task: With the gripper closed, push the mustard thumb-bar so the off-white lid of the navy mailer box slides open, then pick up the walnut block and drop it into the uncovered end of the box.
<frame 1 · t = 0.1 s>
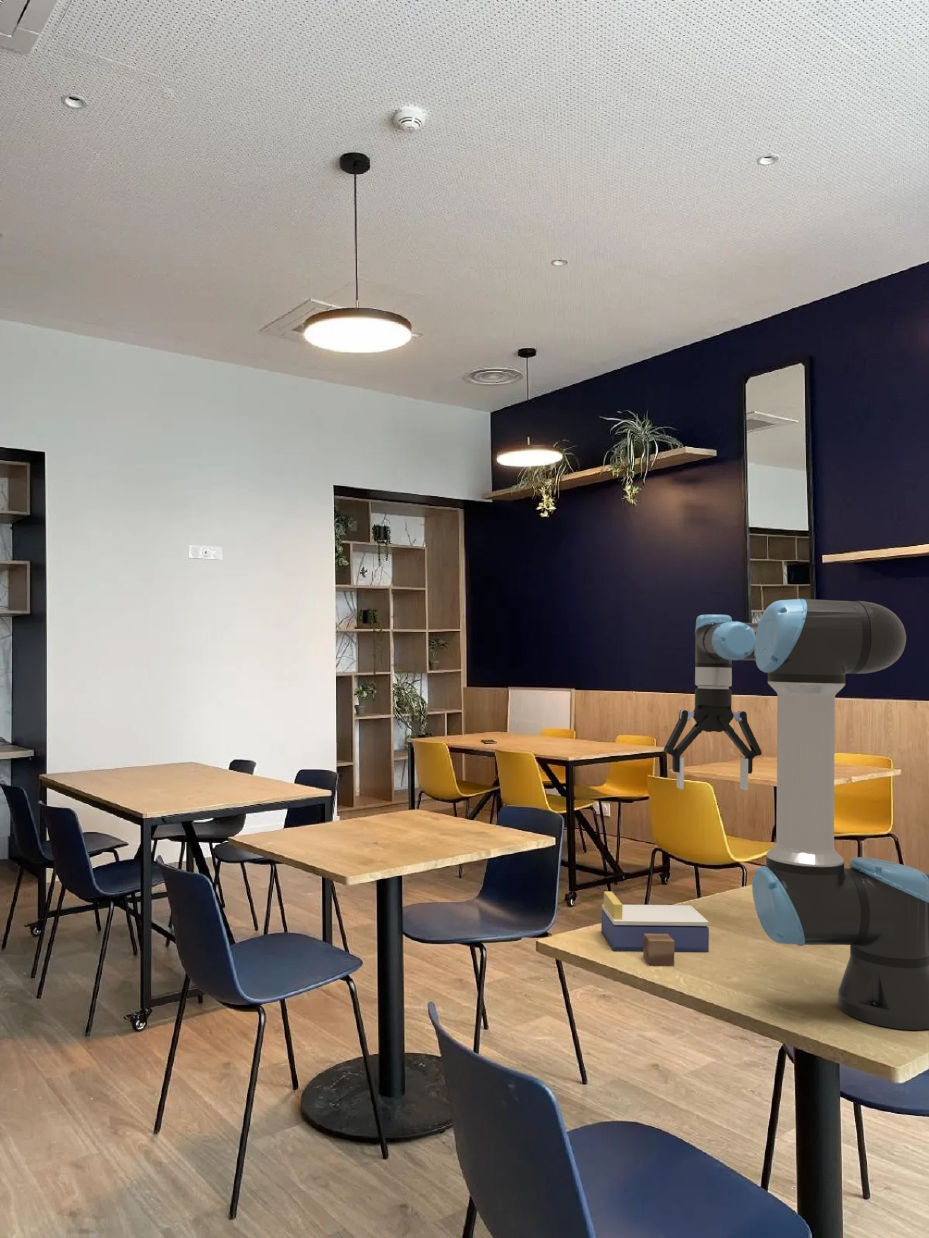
hand: (712, 788, 197), 28 cm above the table, fingers open, 13 cm apart
mailer: (653, 941, 181), on the table
lid: (653, 907, 181), point 7 cm above the table, slide at 0.0 cm
block: (658, 962, 169), on the table
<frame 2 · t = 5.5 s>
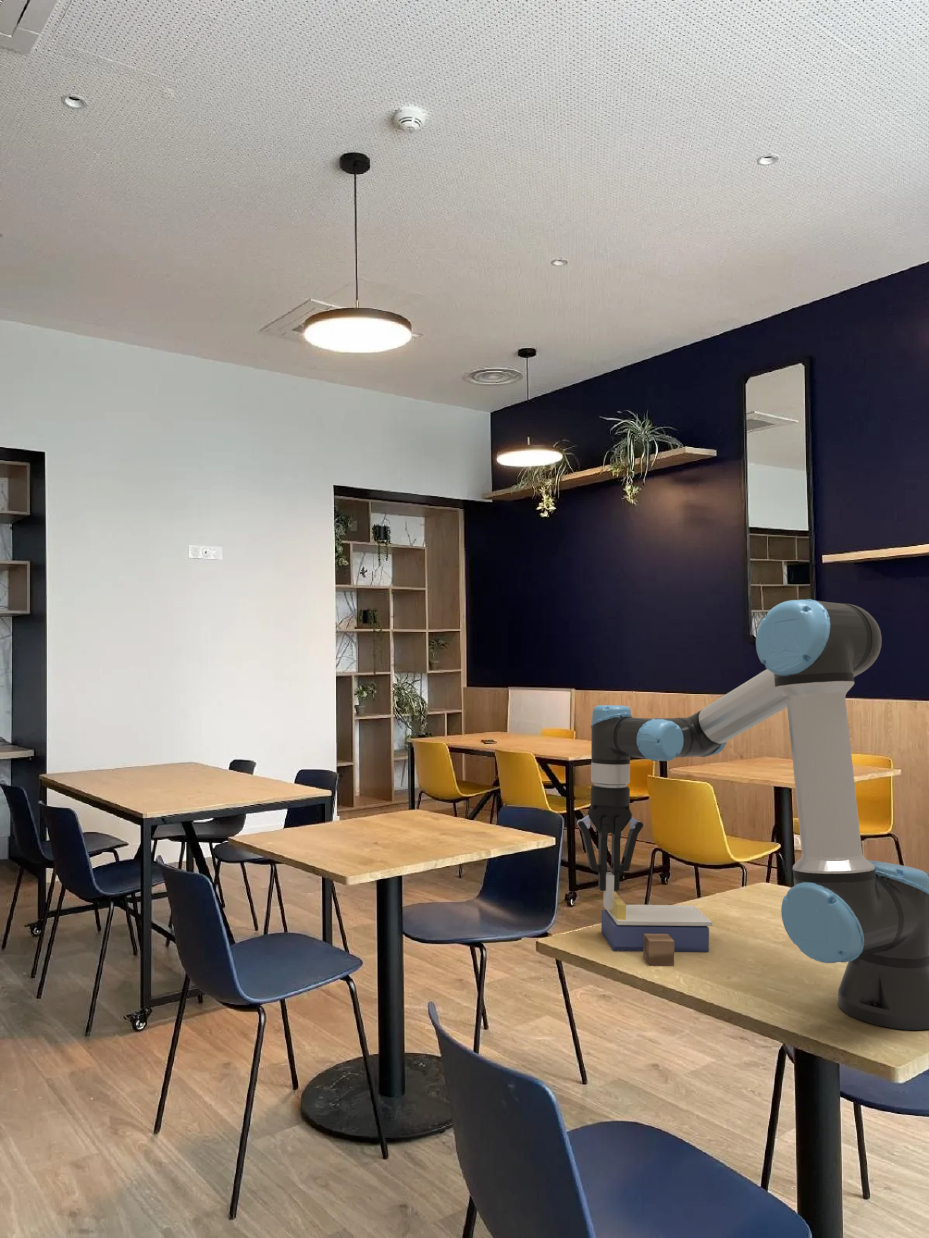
hand: (608, 907, 181), 7 cm above the table, fingers closed
lid: (657, 907, 182), point 7 cm above the table, slide at 0.7 cm, touching gripper
everything else where it was.
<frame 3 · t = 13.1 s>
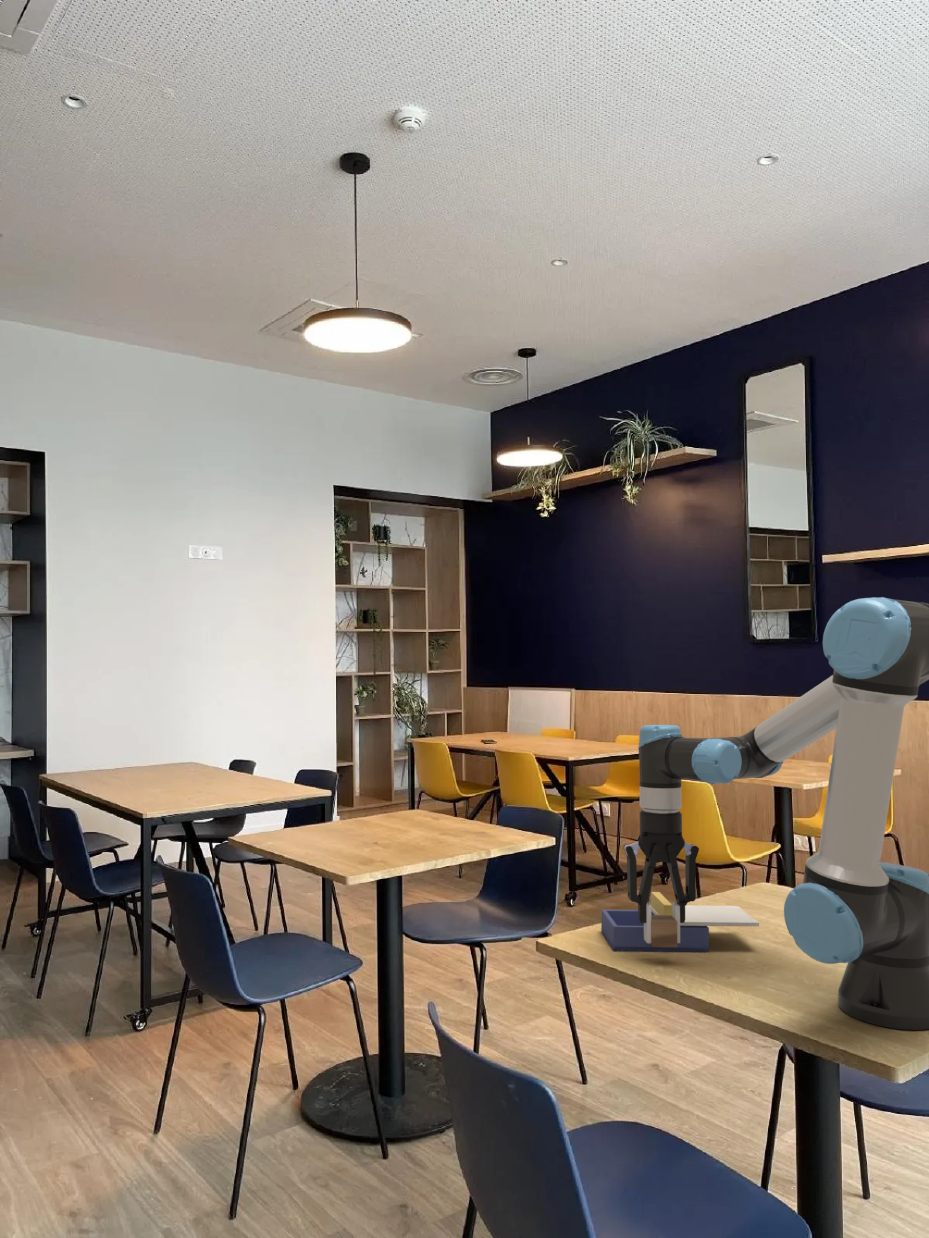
hand: (661, 940, 169), 4 cm above the table, fingers closed on block, 4 cm apart
lid: (702, 907, 182), point 7 cm above the table, slide at 9.5 cm
block: (661, 943, 169), point 3 cm above the table, touching gripper
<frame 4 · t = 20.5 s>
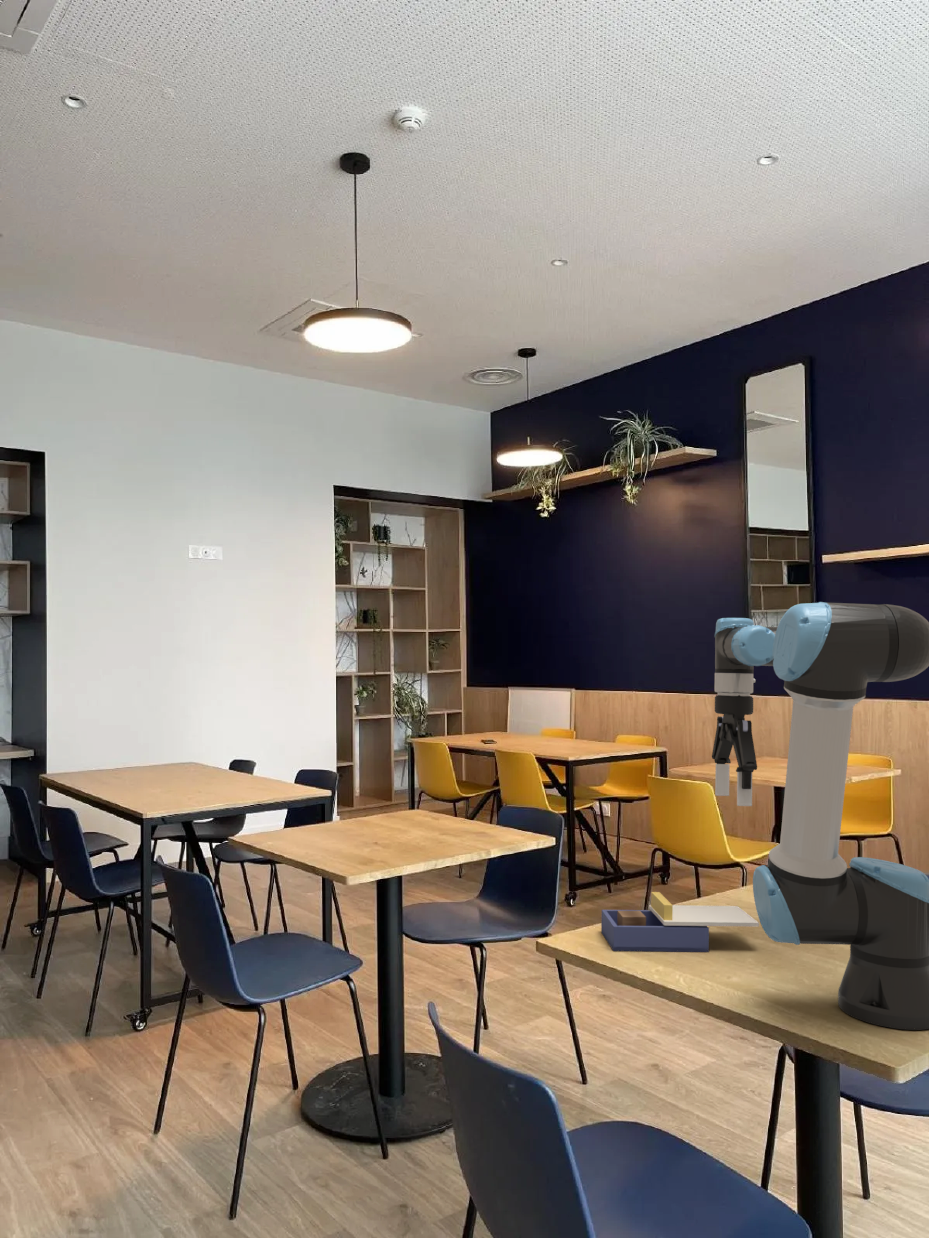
hand: (732, 800, 188), 27 cm above the table, fingers open, 13 cm apart
block: (631, 937, 181), point 1 cm above the table, touching mailer
everything else where it was.
at the end: lid slide at 9.5 cm; block inside the target area on the mailer (0.6 cm from its centre), point 0.8 cm above the mailer's base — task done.
